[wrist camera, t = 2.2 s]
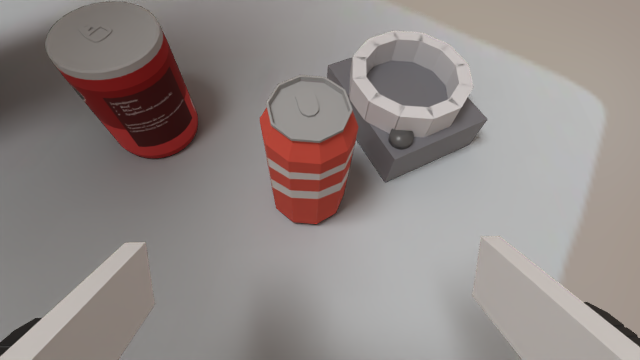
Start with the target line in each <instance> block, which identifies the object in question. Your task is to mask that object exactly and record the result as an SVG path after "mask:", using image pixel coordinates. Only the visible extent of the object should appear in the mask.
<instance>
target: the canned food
mask: <svg viewBox="0 0 640 360" xmlns="http://www.w3.org/2000/svg"><path fill="white" fill-rule="evenodd" d="M45 47H46V51H47V54H48V56H49V57H50V59H51V60H52V62H53V64H54V65H55V66H56V67H57V69H58V70H59V71H60V72H61V74H62V75H63V76H64V78H65V79H66V80H67V81H68V82H69V84H70V85H71V86H72V87H73V88H74V90H75V91H76V92H77V93H78V94H79V96H80V97H81V98H82V99H83V100H84V102H85V103H86V104H87V105H88V106H89V108H90V109H91V110H92V111H93V112H94V114H95V115H96V116H97V117H98V118H99V120H100V121H101V122H102V123H103V124H104V126H105V127H106V128H107V129H108V131H109V132H110V133H111V134H112V135H113V137H114V138H115V139H116V140H117V141H118V142H119V144H120V145H121V146H122V147H123V148H125V149H126V150H128V151H129V152H131V153H133V154H135V155H138V156H140V157H144V158H163V157H167V156H171V155H173V154H175V153H178V152H179V151H181V150H182V149H184V148H185V147H186V146H187V145H188V144H190V142H191V141H192V140H193V138H194V136H195V134H196V132H197V127H198V116H197V112H196V109H195V107H194V105H193V102H192V100H191V97H190V95H189V93H188V90H187V88H186V85H185V83H184V80H183V78H182V76H181V73H180V71H179V68H178V66H177V64H176V61H175V59H174V56H173V54H172V51H171V49H170V47H169V44H168V42H167V39H166V37H165V35H164V33H163V31H162V28H161V26H160V25H159V23H158V21H157V19H156V18H155V17H154V15H153V14H152V13H150V12H149V11H148V10H146V9H145V8H143V7H141V6H138V5H135V4H132V3H126V2H115V1H111V2H100V3H95V4H90V5H87V6H83V7H81V8H78V9H76V10H74V11H72V12H70V13H68V14H66V15H65V16H63V17H62V18H61V19H59V20H58V21H57V22H56V23H55V24H54V25H53V26H52V28H51V29H50V31H49V32H48V34H47V37H46V41H45Z"/></svg>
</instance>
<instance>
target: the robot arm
mask: <svg viewBox="0 0 640 360" xmlns="http://www.w3.org/2000/svg"><path fill="white" fill-rule="evenodd" d="M472 296H473V298H474V299H475V300H476V302H477V303H478V304H479V305H480V307H481V308H482V309H483V311H484V312H485V313H486V314H487V316H488V317H489V318H490V319H491V321H492V322H493V323H494V325H495V326H496V327H497V328H498V330H499V331H500V332H501V333H502V335H503V336H504V337H505V339H506V340H507V341H508V342H509V344H510V345H511V346H512V347H513V349H514V350H515V351H516V353H517V354H518V355H519V356H520V358H521V359H522V360H640V338H638V337H637V335H636V334H635V333H634V332H632V331H631V330H630V329H628V328H625V327H624V325H623V324H622V323H620V322H619V321H618V320H617V319H615V318H614V317H613V316H611V315H610V314H609V313H607V312H605V311H603V310H602V309H599V308H598V307H596V306H594V305H592V304H590V303H588V302H582V301H581V300H580V299H578V298H577V297H576V296H575V295H573V294H572V293H571V292H569V291H568V290H567V289H566V288H565V287H563V286H562V285H561V284H559V283H558V282H557V281H556V280H554V279H553V278H552V277H551V276H549V275H548V274H547V273H546V272H544V271H543V270H542V269H541V268H539V267H538V266H537V265H535V264H534V263H533V262H532V261H530V260H529V259H528V258H527V257H525V256H524V255H523V254H522V253H520V252H519V251H518V250H517V249H515V248H514V247H513V246H511V245H510V244H509V243H508V242H506V241H505V240H504V239H503V238H501V237H500V236H481V239H480V246H479V253H478V260H477V267H476V273H475V280H474V287H473V294H472ZM154 305H155V301H154V294H153V288H152V281H151V274H150V268H149V261H148V254H147V248H146V242H130V243H124V244H123V245H122V246H121V247H120V248H119V249H118V250H116V251H115V252H114V253H113V254H112V255H111V256H110V257H109V258H108V259H107V260H106V261H104V262H103V263H102V264H101V265H100V266H99V267H98V268H97V269H96V270H95V271H93V272H92V273H91V274H90V275H89V276H88V277H87V278H86V279H85V280H84V281H83V282H81V283H80V284H79V285H78V286H77V287H76V288H75V289H74V290H73V291H72V292H70V293H69V294H68V295H67V296H66V297H65V298H64V299H63V300H62V301H61V302H60V303H58V304H57V305H56V306H55V307H54V308H53V309H52V310H51V311H50V312H49V313H47V314H46V315H45V316H44V317H43V318H35V319H33V320H32V321H30V322H28V323H27V324H25V325H23V326H21V327H20V328H18V329H16V330H14V331H13V332H12V333H11V334H10V335H9V336H7V337H6V338H5V339H4V340H3V341H2V342H0V360H118V359H119V358H120V356H121V355H122V353H123V352H124V350H125V349H126V347H127V346H128V344H129V343H130V341H131V340H132V338H133V337H134V335H135V334H136V332H137V331H138V329H139V328H140V326H141V325H142V323H143V322H144V320H145V319H146V317H147V316H148V314H149V313H150V311H151V310H152V308H153V306H154Z"/></svg>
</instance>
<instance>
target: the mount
mask: <svg viewBox="0 0 640 360" xmlns="http://www.w3.org/2000/svg"><path fill="white" fill-rule="evenodd" d="M327 78H328V79H329V80H331V81H332V82H334V83H336V84H337V85H339V86H340V87H342V88H343V89H345V90H346V93H347V96H348V98H349V101H350V104H351V106H352V109H353V113H354V116H355V118H356V121H357V124H358V132H357V136H356V140H357V142H358V143H359V145H360V146H361V147H362V149H363V150H364V152H365V153H366V155H367V156H368V158H369V159H370V161H371V162H372V164H373V165H374V167H375V168H376V170H377V171H378V173H379V174H380V176H381V177H382V179H383V180H384V182H387V181H390V180H392V179H394V178H396V177H398V176H401V175H403V174H405V173H407V172H410V171H412V170H414V169H416V168H418V167H421V166H423V165H425V164H427V163H429V162H432V161H434V160H436V159H438V158H441V157H443V156H445V155H447V154H449V153H452V152H454V151H456V150H458V149H460V148H463V147H465V146H467V145H469V144H470V143H471V141H472V140H473V139H474V137H475V136H476V134H477V133H478V132H479V130H480V129H481V128H482V126H483V125H484V123H485V122H486V121H487V118H486V117H485V116H484V115H483V114H482V113H481V111H480V110H479V109H478V108H477V107H476V106H475V105H474V104H473V103H472V102H471V100H470V99H469V98H468V96H469V94H470V92H471V91H472V89H473V87H474V86H473V82H472V77H471V73H470V68H469V64H468V63H467V62H466V61H465V60H464V59H463V58H462V57H461V56H460V54H459V53H458V52H457V51H456V50H455V49H454V48H453V47H452V46H451V45H449V44H448V43H445V42H443V41H441V40H438V39H436V38H434V37H432V36H429V35H427V34H425V33H421V32H407V31H390V32H387V33H384V34H381V35H378V36H375V37H372V38H369V39H367V40H366V42H365V43H364V44H363V45H362V46H361V47H360V48H359V50H358V51H357V52H356V53H355V54H354V55H353V57H352V58H349V59H346V60H343V61H340V62H337V63H334V64H331V65H328V73H327Z"/></svg>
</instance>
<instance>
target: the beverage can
mask: <svg viewBox="0 0 640 360" xmlns="http://www.w3.org/2000/svg"><path fill="white" fill-rule="evenodd" d="M266 106H267V108H266V109H265V111H264V112H263V114H262V116H261V117H260V124H261V130H262V135H263V140H264V146H265V151H266V157H267V162H268V168H269V173H270V179H271V184H272V190H273V195H274V199H275V204H276V208H277V209H278V210H279V211H280V212H282V213H283V214H284V215H285V216H286V217H288V218H289V219H290V220H291V221H292V222H297V223H310V224H317V223H319V222H321V221H323V220H325V219H326V218H328V217H330V216H332V215H333V214H335V213H336V212H337V209H338V207H339V205H340V202H341V200H342V197H343V195H344V191H345V187H346V182H347V177H348V173H349V168H350V164H351V159H352V155H353V150H354V145H355V141H356V136H357V132H358V124H357V121H356V118H355V116H354V113H353V109H352V106H351V104H350V101H349V98H348V96H347V93H346V90H345V89H343V88H342V87H340V86H339V85H337V84H336V83H334V82H332V81H331V80H329V79H328V78H326V77H320V76H308V75H299V76H296V77H294V78H291V79H289V80H287V81H284V82H282V83H279V84H277V86H276V87H275V89H274V91H273V92H272V94H271V95H270V97H269V98H268V100H267V102H266Z"/></svg>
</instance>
